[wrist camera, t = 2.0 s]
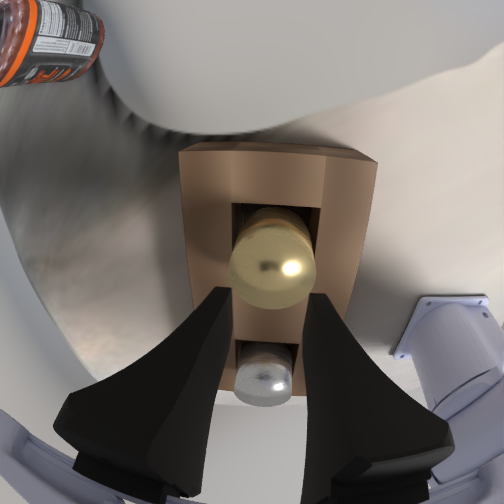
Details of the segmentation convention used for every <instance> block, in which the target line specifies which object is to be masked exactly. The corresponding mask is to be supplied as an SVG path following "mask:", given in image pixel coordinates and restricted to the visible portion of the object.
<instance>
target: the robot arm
mask: <svg viewBox="0 0 504 504" xmlns="http://www.w3.org/2000/svg"><path fill="white" fill-rule="evenodd" d="M427 302H428V303H427ZM488 303H489V298H488V296H469V297H422V298H421V299H420V300H419V301H418V304H417V306H416V308H415V311H414V313H413V315H412V317H411V320H410V322H409V324H408V326H407V328H406V330H405V332H404V335H403V337H402V339H401V341H400V343H399V345H398V346H397V348H396V350H395V352H394V354H393V357H394V359H396V360H398V359H411V358H412V360H413V362H414V365H415V368H416V371H417V374H418V377H419V380H420V383H421V386H422V389H423V392H424V395H425V399H426V402H427V406H428V409H429V410H428V409H426V408H425V407H423V406H422V405H421V404H419V403H418V402H417V401H415V400H414V399H412V398H411V397H410V396H409V395H408V394H407V393H405V392H404V391H403V390H402V389H401V388H400V387H399V386H397V385H396V384H395V383H394V382H393V381H392V380H391V379H390V378H389V377H388V376H387V375H386V374H385V373H384V372H383V371H382V370H381V369H380V368H379V367H378V366H377V365H376V364H375V363H374V362H373V360H372V359H371V358H370V357H369V356H368V355H367V353H366V352H365V351H364V350H363V348H362V347H361V346H360V344H359V343H358V342H357V340H356V339H355V338H354V336H353V335H352V333H351V332H350V331H349V329H348V328H347V326H346V325H345V323H344V322H343V320H342V319H341V317H340V315H339V314H338V312H337V311H336V309H335V307H334V306H333V304H332V302H331V301H330V299H329V297H328V296H327V295H326V293H309V299H308V305H307V310H306V316H305V321H304V327H303V335H302V356H303V366H304V375H305V385H306V396H307V406H308V407H307V410H308V417H307V444H306V458H305V469H304V479H303V488H302V495H301V502H300V504H504V332H503V331H502V329H501V327H500V326H499V324H498V323H497V321H496V320H495V318H494V317H493V315H492V314H491V312H490V311H489V310H488V308H487V307H486V306H487V304H488ZM232 331H233V310H232V288H230V287H218V286H216V287H214V288H213V289H212V290H211V292H210V293H209V294H208V295H207V296H206V298H205V299H204V300H203V301H202V302H201V303H200V305H199V306H198V307H197V308H196V309H195V310H194V311H193V312H192V313H191V314H190V315H189V317H188V318H187V319H186V320H185V321H184V322H183V323H182V324H181V325H180V326H179V327H178V328H176V329H175V330H174V331H173V332H172V333H171V334H170V335H169V336H168V337H167V338H166V339H164V340H163V341H162V342H161V343H160V344H159V345H157V346H156V347H155V348H153V349H152V350H151V351H150V352H148V353H147V354H145V355H144V356H143V357H141V358H140V359H138V360H137V361H135V362H134V363H132V364H131V365H129V366H128V367H126V368H124V369H123V370H121V371H119V372H117V373H115V374H113V375H112V376H110V377H108V378H106V379H104V380H102V381H100V382H97V383H95V384H93V385H90V386H88V387H86V388H83V389H81V390H78V391H76V392H73V393H70V394H69V395H68V397H67V399H66V400H65V402H64V404H63V406H62V408H61V410H60V412H59V414H58V416H57V418H56V420H55V422H54V424H53V428H54V430H55V432H56V433H57V434H58V435H59V436H60V437H62V438H63V439H64V440H65V441H66V442H67V443H69V444H70V445H71V446H72V447H74V448H75V449H76V450H77V451H79V452H78V455H77V457H76V460H75V459H73V458H71V457H69V456H67V455H65V454H63V453H62V452H60V451H58V450H57V449H55V448H53V447H51V446H50V445H48V444H46V443H45V442H43V441H42V440H40V439H38V438H37V437H35V436H34V435H32V434H31V433H30V432H29V431H28V430H27V429H26V428H25V427H24V426H22V425H21V424H20V423H19V422H17V421H16V420H15V419H14V418H12V417H11V416H10V415H8V414H7V413H5V412H4V411H3V410H1V409H0V475H1V476H2V477H3V478H4V479H5V480H6V481H7V482H8V483H9V484H10V485H11V486H12V487H13V488H14V489H15V490H16V491H17V492H18V493H19V494H20V495H21V496H22V497H23V498H24V499H25V500H26V501H27V502H28V503H29V504H125V502H124V500H123V499H125V500H128V501H130V502H133V503H136V504H205V503H199V502H194V501H189V500H185V499H181V498H180V496H181V497H185V498H189V497H195V496H196V495H198V494H200V493H201V486H202V478H203V469H204V462H205V455H206V448H207V440H208V435H209V429H210V423H211V417H212V411H213V406H214V402H215V398H216V394H217V391H218V387H219V384H220V380H221V377H222V374H223V370H224V367H225V363H226V360H227V356H228V353H229V349H230V343H231V337H232ZM428 484H429V485H430V487H431V489H428Z"/></svg>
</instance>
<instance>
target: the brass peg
mask: <svg viewBox="0 0 504 504" xmlns="http://www.w3.org/2000/svg"><path fill="white" fill-rule="evenodd" d="M228 278H229V282H230V284H231V287H232V288H233V290H234V291H235V293H236V294H237V295H238V296H239V297H240V298H241V299H243V300H244V301H245V302H247V303H249V304H251V305H253V306H256V307H259V308H263V309H283V308H287V307H290V306H293V305H295V304H297V303H299V302H300V301H301V300H303V299H304V298H305V297H306V296H307V295H308V294H309V293H310V291H311V290H312V288H313V286H314V283H315V280H316V266H315V261H314V255H313V250H312V245H311V239H310V234H309V230H308V228H307V226H306V224H305V222H304V221H303V220H302V219H301V218H300V217H299V216H298V215H297V214H296V213H294V212H292V211H290V210H288V209H285V208H281V207H266V208H262V209H260V210H257V211H255V212H254V213H252V214H251V215H249V216H248V217H247V218H246V220H245V221H244V222H243V224H242V226H241V228H240V231H239V234H238V237H237V240H236V243H235V246H234V249H233V252H232V255H231V258H230V261H229V265H228Z"/></svg>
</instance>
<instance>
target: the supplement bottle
mask: <svg viewBox="0 0 504 504" xmlns="http://www.w3.org/2000/svg"><path fill="white" fill-rule="evenodd" d="M104 33H105V31H104V25H103V22H102V20H101V19H100V18H99V17H98V16H96V15H95V14H93V13H90V12H88V11H85V10H82V9H79V8H75V7H72V6H68V5H64V4H60V3H57V2H52V1H48V0H4V1H2V2H1V3H0V88H2V87H8V86H14V85H22V84H32V83H44V82H62V81H68V80H72V79H75V78H77V77H79V76H80V75H82V74H83V73H84V72H85V71H87V70H88V69H89V67H90V66H92V64H93V63H94V61H95V60H96V58H97V57H98V54H99V52H100V50H101V48H102V45H103V41H104Z"/></svg>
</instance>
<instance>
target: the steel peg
mask: <svg viewBox="0 0 504 504" xmlns="http://www.w3.org/2000/svg"><path fill="white" fill-rule="evenodd" d="M234 393H235V395H236V397H237V398H238V399H240V400H241V401H243V402H245V403H247V404H250V405H254V406H261V407H270V406H276V405H280V404H283V403H285V402H286V401H288V400H289V399H290V397H291V394H292V354H291V351H290V350H289V348H288V347H287V346H285V345H284V344H282V343H277V342H262V341H252V342H250V343H248V344H246V345H245V346H244V347H243V348H242V350H241V352H240V358H239V363H238V369H237V375H236V380H235V386H234Z"/></svg>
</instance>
